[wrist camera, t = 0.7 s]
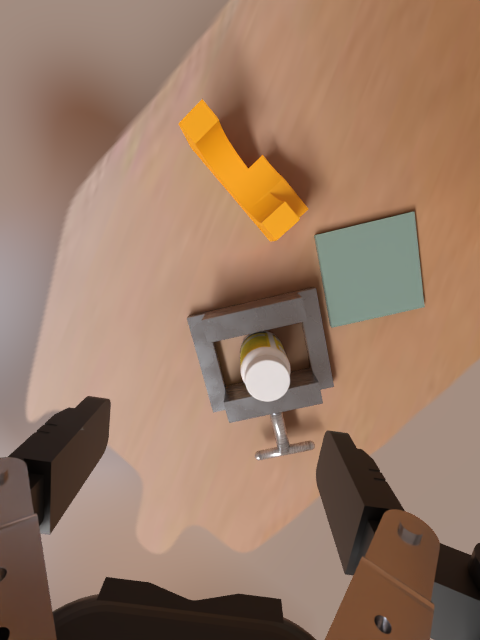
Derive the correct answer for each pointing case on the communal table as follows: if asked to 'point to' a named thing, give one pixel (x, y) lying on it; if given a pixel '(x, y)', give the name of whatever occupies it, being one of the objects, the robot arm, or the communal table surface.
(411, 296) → the mat
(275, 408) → the vise
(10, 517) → the robot arm
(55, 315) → the communal table surface
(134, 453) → the communal table surface
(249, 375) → the supplement bottle
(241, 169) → the pipe clamp
